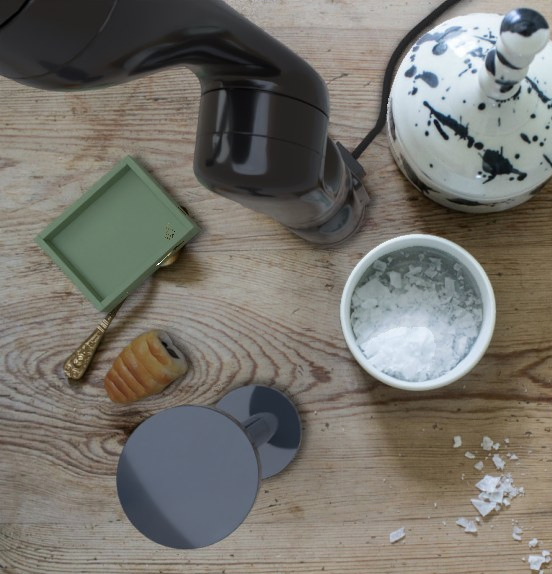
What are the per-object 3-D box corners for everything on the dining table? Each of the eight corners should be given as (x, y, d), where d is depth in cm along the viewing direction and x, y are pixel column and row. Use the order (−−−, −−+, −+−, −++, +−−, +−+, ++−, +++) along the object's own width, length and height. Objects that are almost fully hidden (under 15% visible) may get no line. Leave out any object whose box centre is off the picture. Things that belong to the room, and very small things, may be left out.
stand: (259, 359, 73) (192, 375, 52) (327, 433, 73) (288, 480, 52) (184, 428, 72) (85, 473, 51) (252, 503, 72) (181, 580, 51)
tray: (136, 159, 74) (127, 154, 72) (201, 229, 74) (194, 226, 71) (45, 241, 73) (32, 239, 71) (109, 312, 73) (99, 312, 71)
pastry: (132, 416, 72) (116, 422, 69) (97, 372, 73) (79, 374, 69) (195, 366, 73) (182, 369, 69) (160, 322, 73) (146, 322, 69)
